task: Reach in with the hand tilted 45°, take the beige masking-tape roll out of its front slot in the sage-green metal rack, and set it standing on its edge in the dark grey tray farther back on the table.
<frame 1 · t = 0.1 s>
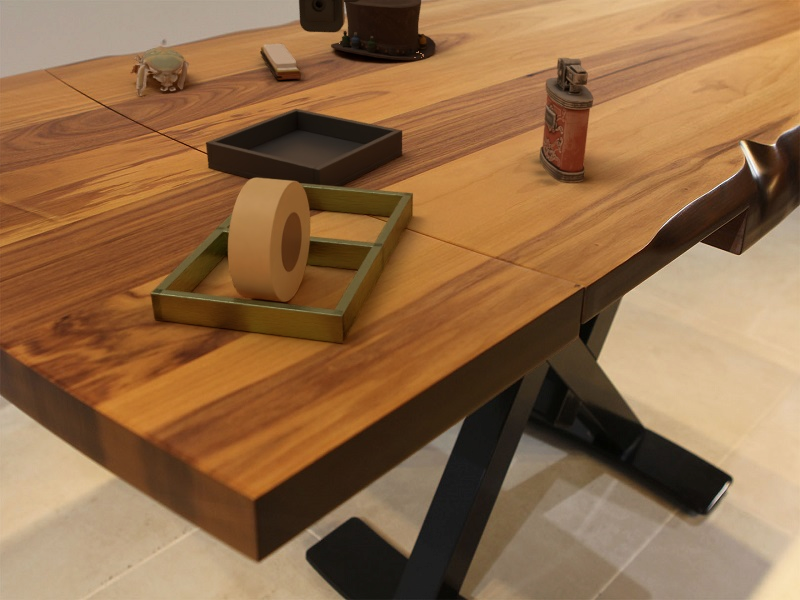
hand: (334, 14, 48), 19 cm above the table, tool pointing down, fingers open, 8 cm apart
rack: (299, 261, 63), on the table
tray: (307, 161, 82), on the table
top hat: (383, 52, 123), on the table
lighter: (560, 169, 81), on the table
harmonica: (279, 69, 114), on the table
tape: (275, 292, 59), resting in rack
crab toy: (158, 85, 107), on the table
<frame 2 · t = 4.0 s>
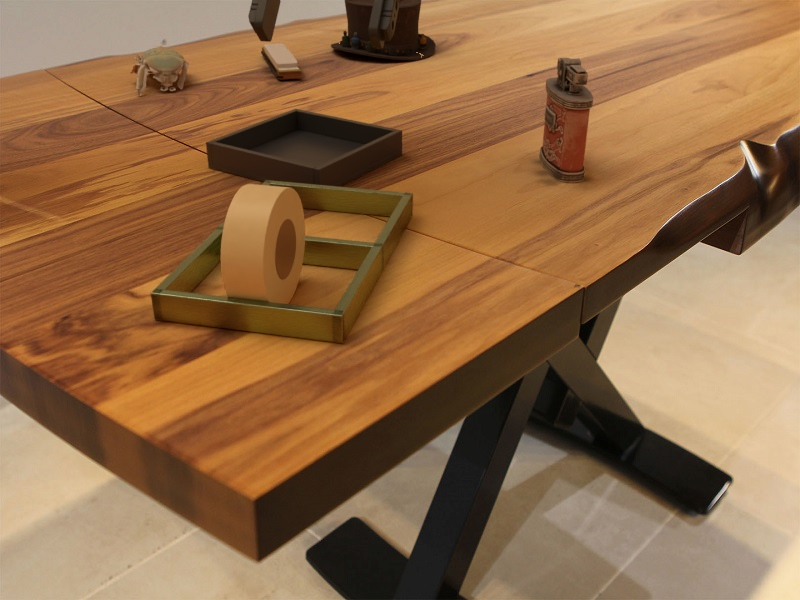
hand: (317, 38, 61), 15 cm above the table, tool tilted 45°, fingers open, 8 cm apart
tape: (275, 290, 59), resting in rack, tilted 17°
everything else where it was.
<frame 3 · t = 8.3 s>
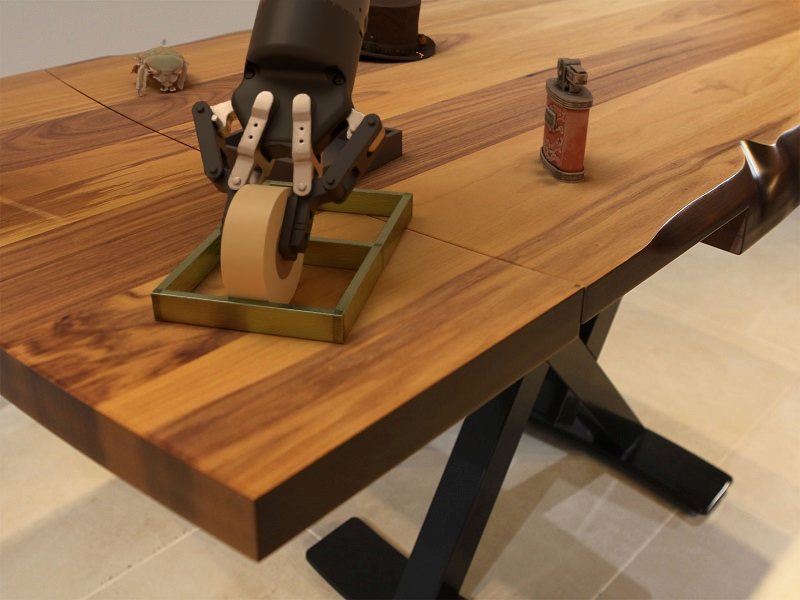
hand: (261, 253, 55), 4 cm above the table, tool tilted 45°, fingers closed on tape, 3 cm apart
tape: (275, 290, 59), resting in rack, tilted 17°, touching gripper
everything else where it was.
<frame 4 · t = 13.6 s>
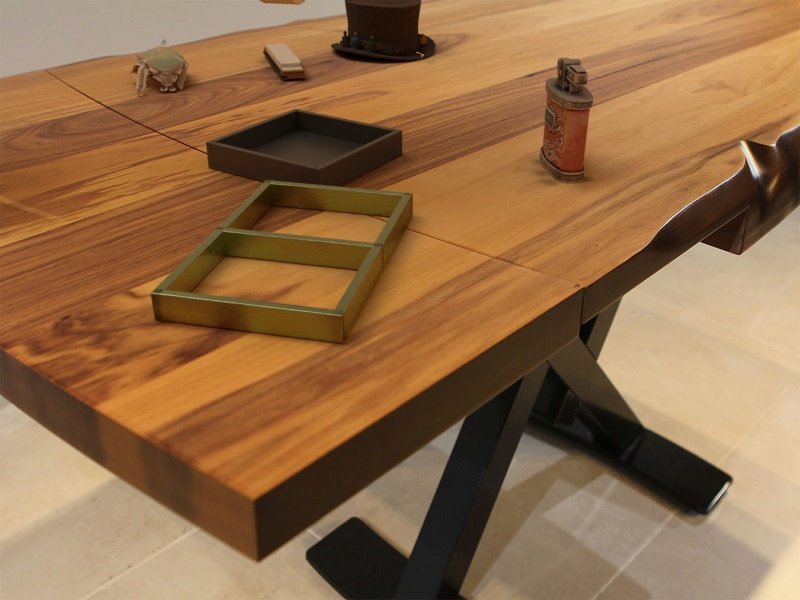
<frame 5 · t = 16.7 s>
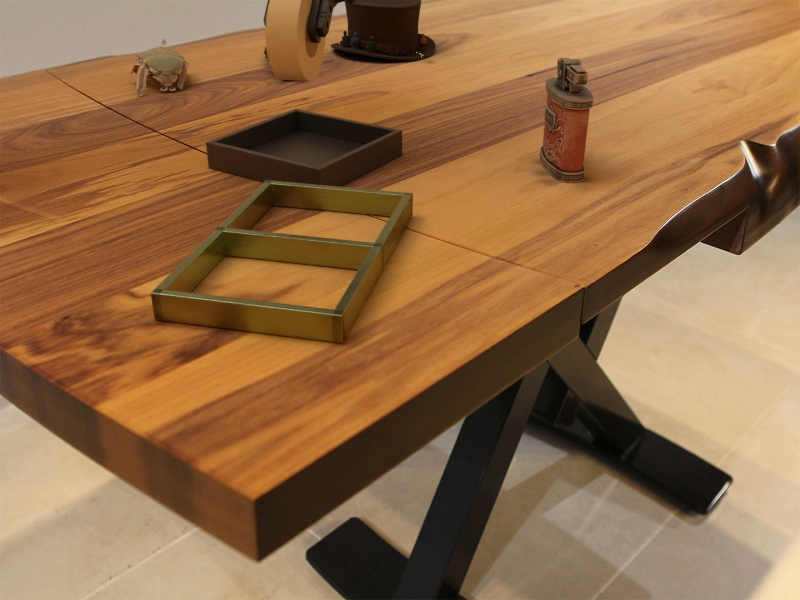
hand: (294, 36, 75), 12 cm above the table, tool tilted 45°, fingers closed on tape, 3 cm apart
tape: (303, 73, 78), point 8 cm above the table, tilted 17°, touching gripper
everything else where it was.
when the fingers open (4 cm above the table, at t = 19.1 s): tape stays where it is, resting on tray.
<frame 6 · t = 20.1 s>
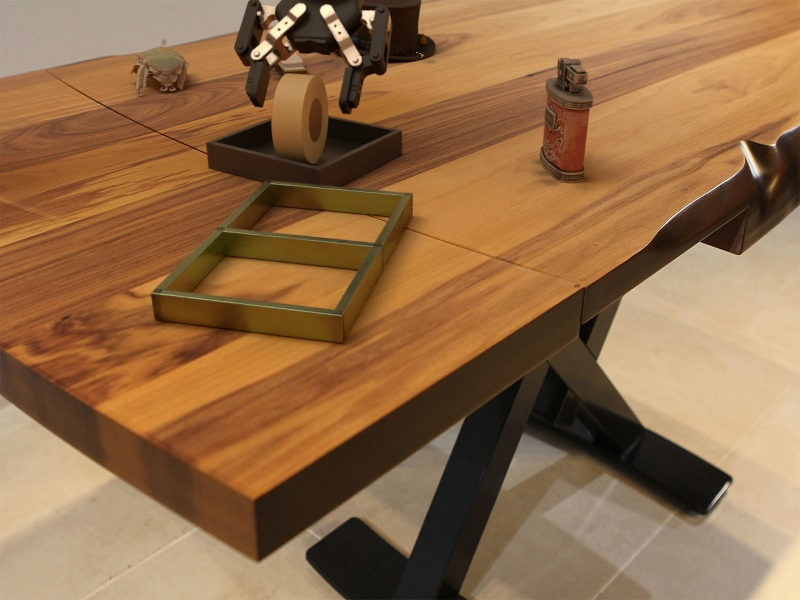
hand: (299, 106, 78), 6 cm above the table, tool tilted 45°, fingers open, 8 cm apart
tape: (307, 153, 82), point 1 cm above the table, tilted 19°, touching tray
everything else where it was.
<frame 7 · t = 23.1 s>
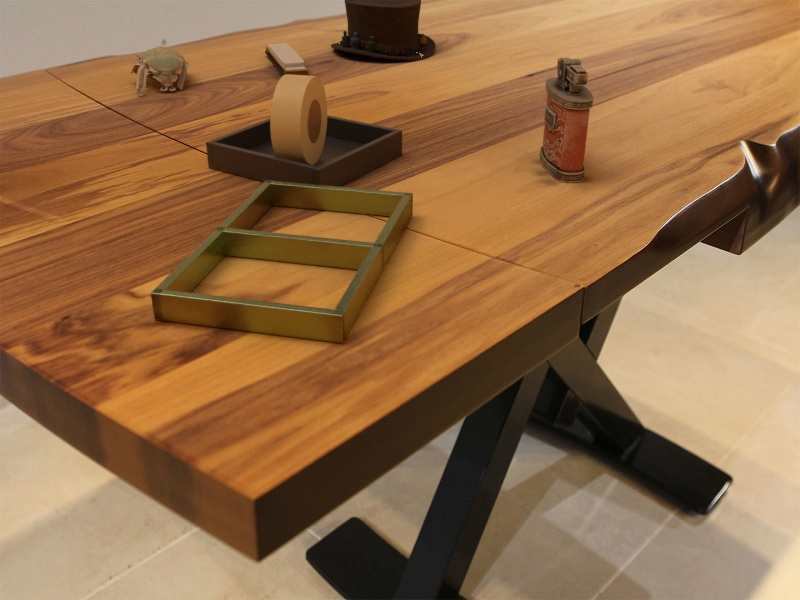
nothing on the table moved.
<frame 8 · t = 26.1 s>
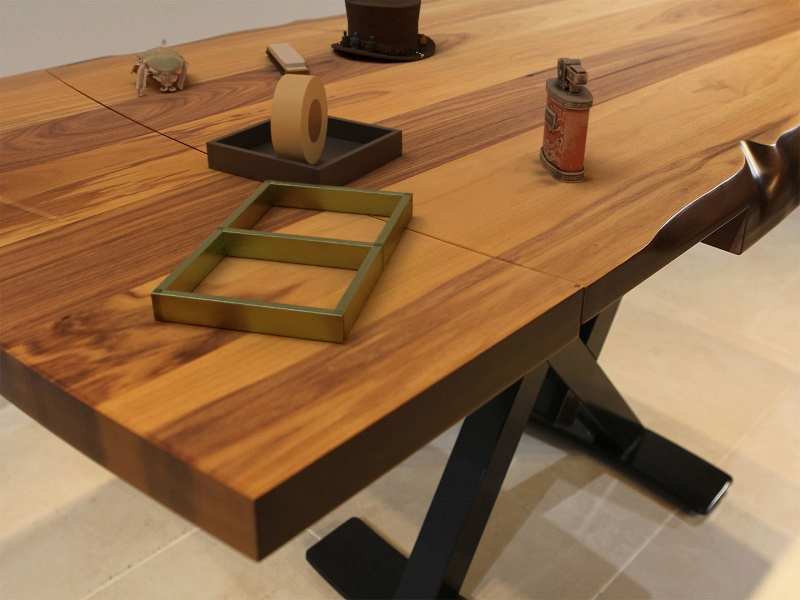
nothing on the table moved.
at the end: tape inside the target area in the tray (0.1 cm from its centre), point 0.8 cm above the tray's base; tape moved 26.7 cm from its start; the gripper is holding nothing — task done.
